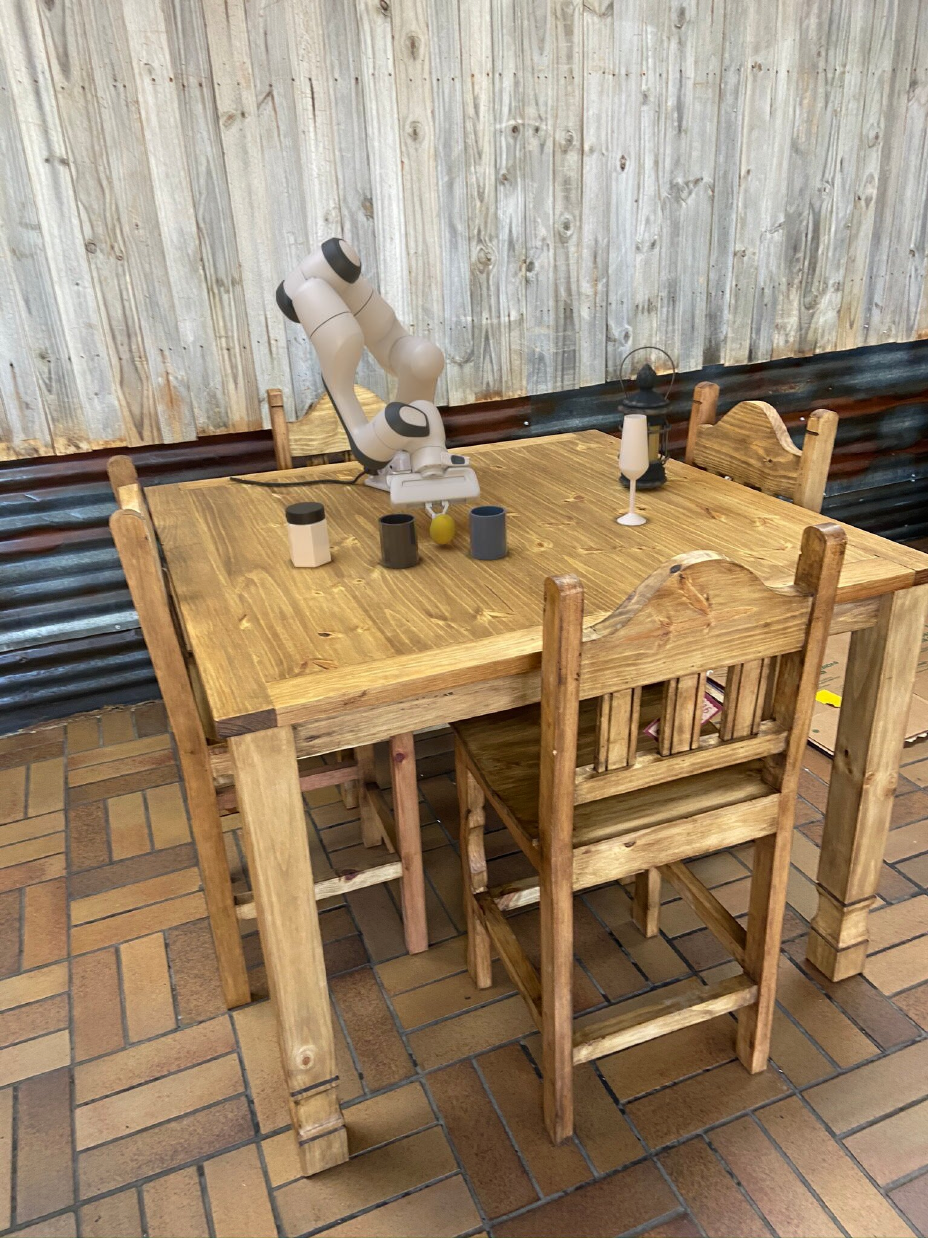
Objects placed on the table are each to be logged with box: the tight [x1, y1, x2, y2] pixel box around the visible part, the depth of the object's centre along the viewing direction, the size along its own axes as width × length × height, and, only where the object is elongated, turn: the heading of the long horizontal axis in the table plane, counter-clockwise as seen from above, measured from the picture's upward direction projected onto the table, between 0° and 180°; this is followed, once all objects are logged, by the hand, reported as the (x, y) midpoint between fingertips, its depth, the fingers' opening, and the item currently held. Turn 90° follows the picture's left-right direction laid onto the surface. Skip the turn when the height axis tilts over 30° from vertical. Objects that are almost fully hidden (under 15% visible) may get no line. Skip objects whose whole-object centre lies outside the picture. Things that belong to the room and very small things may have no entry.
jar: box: [284, 501, 332, 568], centre depth 188 cm, size 9×8×12 cm
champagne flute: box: [616, 414, 649, 526], centre depth 200 cm, size 7×7×24 cm
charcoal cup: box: [377, 512, 420, 569], centre depth 185 cm, size 8×8×10 cm
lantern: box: [617, 345, 676, 491], centre depth 222 cm, size 14×13×35 cm
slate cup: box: [468, 504, 508, 561], centre depth 187 cm, size 8×8×10 cm
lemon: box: [429, 513, 456, 545], centre depth 192 cm, size 6×6×8 cm
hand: (439, 522), depth 195 cm, fingers closed
